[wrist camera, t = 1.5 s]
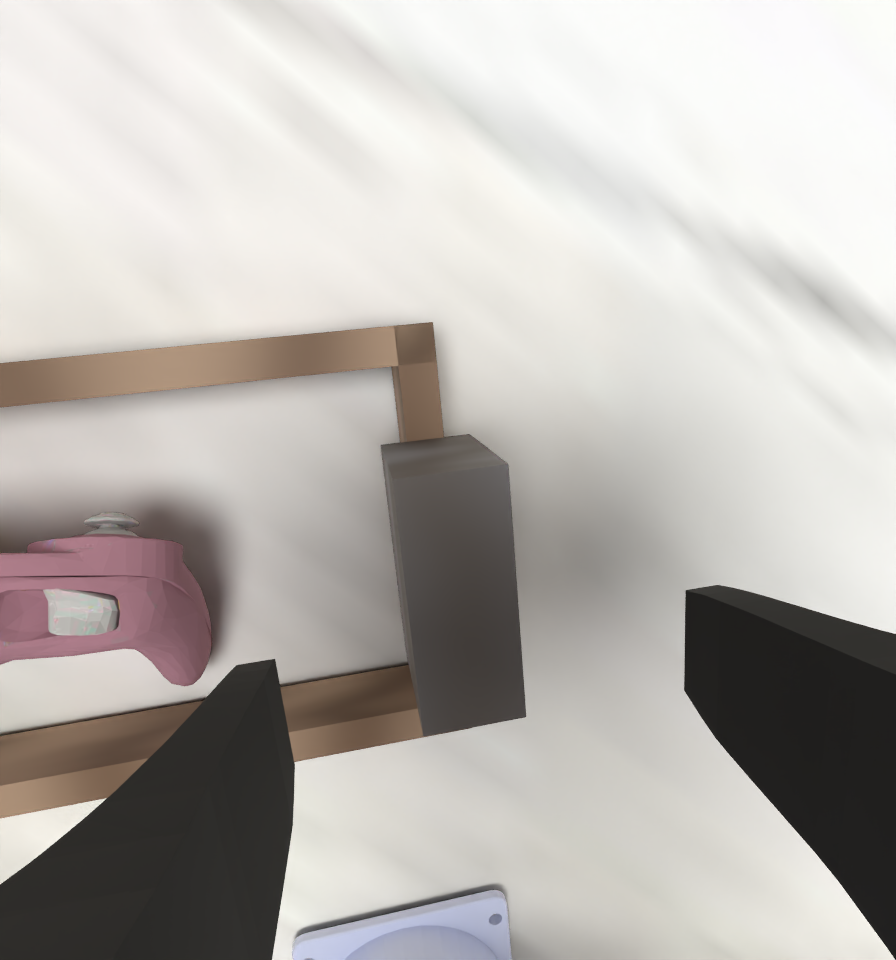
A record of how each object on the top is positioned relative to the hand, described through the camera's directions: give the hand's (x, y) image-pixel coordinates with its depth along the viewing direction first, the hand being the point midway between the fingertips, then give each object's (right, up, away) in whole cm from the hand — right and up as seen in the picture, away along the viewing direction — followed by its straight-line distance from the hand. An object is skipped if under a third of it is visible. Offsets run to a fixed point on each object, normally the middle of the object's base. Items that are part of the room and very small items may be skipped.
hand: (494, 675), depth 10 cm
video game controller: (-13, 0, +8) cm, 15 cm away
